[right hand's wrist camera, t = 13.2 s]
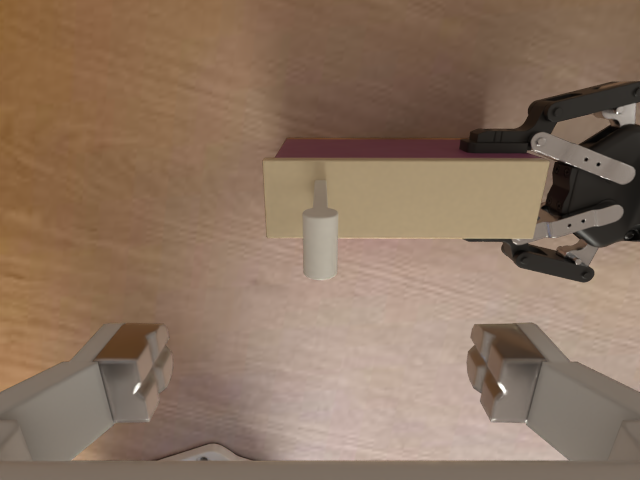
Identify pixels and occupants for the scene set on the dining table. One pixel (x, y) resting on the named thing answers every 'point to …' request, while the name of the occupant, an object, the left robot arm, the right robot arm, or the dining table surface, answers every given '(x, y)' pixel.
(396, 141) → the chest
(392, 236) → the lid
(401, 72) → the dining table surface
